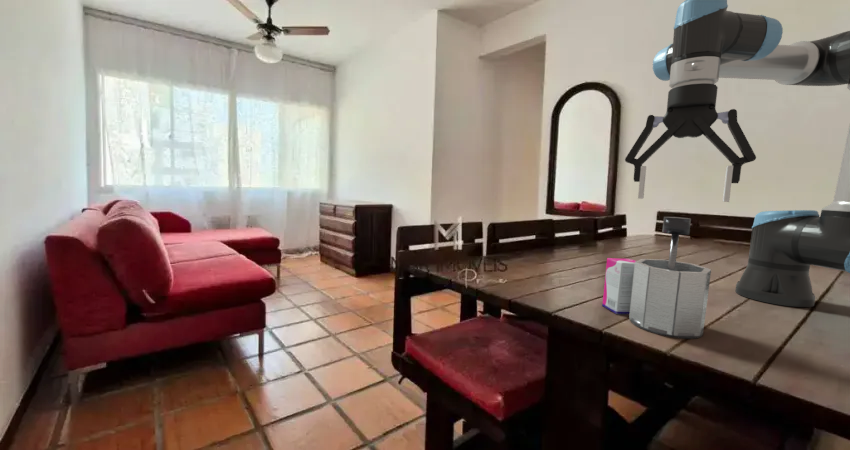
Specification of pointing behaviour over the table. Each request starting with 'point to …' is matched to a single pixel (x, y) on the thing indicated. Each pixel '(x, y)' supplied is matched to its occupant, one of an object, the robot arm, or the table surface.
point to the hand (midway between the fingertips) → (680, 200)
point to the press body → (669, 298)
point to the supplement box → (618, 285)
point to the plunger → (675, 235)
